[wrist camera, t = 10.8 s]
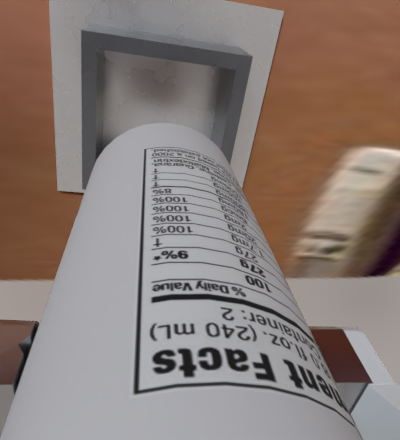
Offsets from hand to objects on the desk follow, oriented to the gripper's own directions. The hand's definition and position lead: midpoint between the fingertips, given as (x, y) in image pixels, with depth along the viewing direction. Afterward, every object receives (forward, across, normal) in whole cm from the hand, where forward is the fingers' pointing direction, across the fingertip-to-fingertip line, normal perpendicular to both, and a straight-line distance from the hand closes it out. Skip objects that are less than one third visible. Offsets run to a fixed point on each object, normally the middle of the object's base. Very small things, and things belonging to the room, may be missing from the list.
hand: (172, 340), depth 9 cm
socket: (+21, 0, 0) cm, 21 cm away
